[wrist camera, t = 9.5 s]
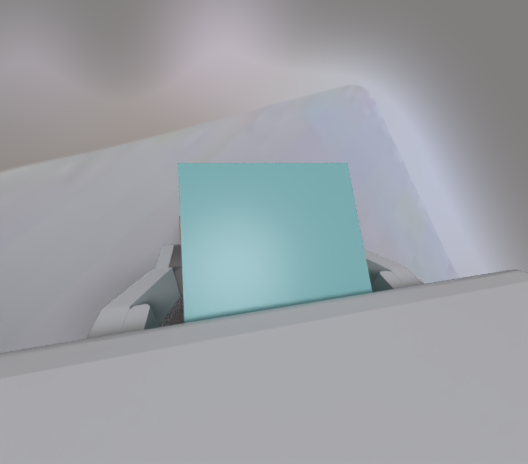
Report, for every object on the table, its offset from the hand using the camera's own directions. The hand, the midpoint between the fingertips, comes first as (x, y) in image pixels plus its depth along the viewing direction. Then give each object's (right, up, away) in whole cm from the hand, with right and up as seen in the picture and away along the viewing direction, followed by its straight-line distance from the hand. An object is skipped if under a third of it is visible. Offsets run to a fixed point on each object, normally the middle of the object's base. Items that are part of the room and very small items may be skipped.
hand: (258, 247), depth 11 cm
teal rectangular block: (-1, -1, +5) cm, 5 cm away
